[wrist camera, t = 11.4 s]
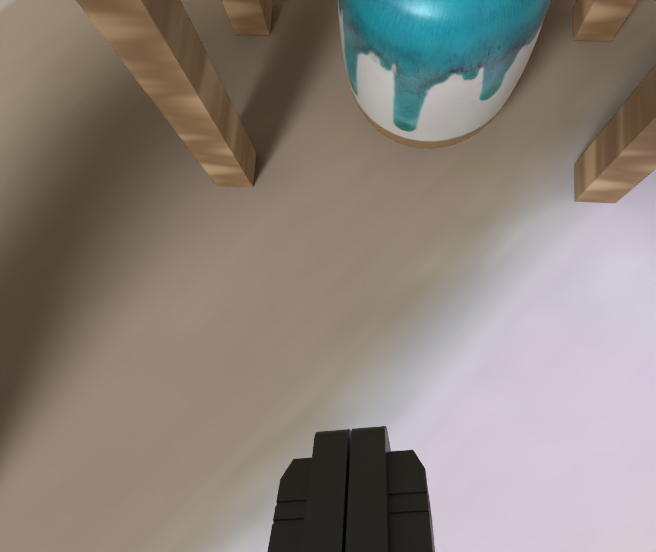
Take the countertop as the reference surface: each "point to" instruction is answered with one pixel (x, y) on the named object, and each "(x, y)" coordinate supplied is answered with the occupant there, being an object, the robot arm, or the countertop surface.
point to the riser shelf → (255, 19)
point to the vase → (436, 63)
